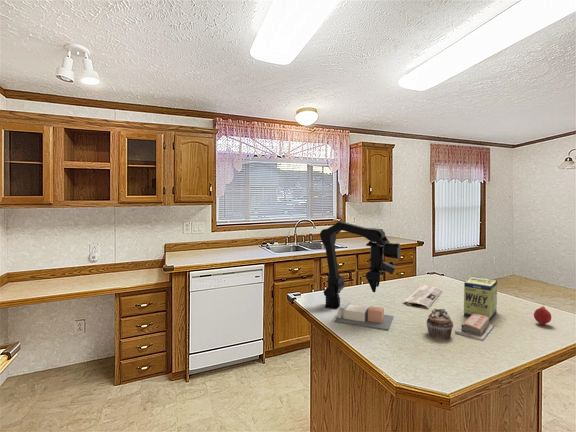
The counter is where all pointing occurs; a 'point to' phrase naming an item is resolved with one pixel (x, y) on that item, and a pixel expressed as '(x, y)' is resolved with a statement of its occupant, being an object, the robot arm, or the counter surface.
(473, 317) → the packaged product
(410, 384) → the counter surface
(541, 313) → the onion
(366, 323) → the grey flat tray
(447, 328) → the cupcake
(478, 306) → the protein box
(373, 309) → the stub
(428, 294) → the newspaper
